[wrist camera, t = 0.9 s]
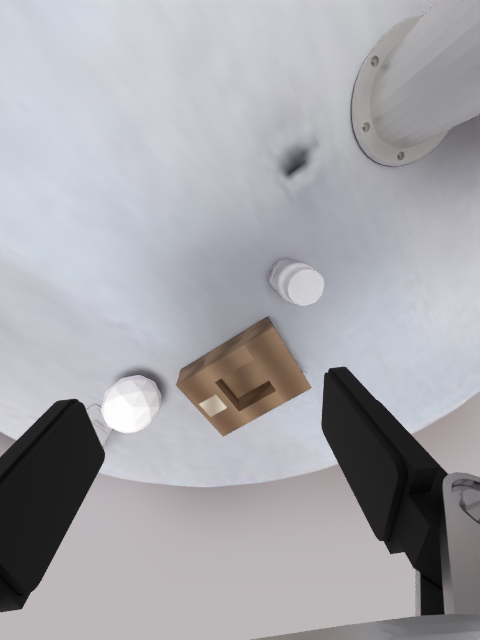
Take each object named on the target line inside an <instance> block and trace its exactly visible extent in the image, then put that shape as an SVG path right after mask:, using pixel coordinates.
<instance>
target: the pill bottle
mask: <svg viewBox="0 0 480 640" xmlns="http://www.w3.org/2000/svg"><path fill="white" fill-rule="evenodd" d="M268 279H269V283H270V285H271V287H272V288H273V289H274V290H275V291H276V292H277V293H278V294H280V295H281V296H282V297H283V298H284V299H285V300H286V301H288V302H290V303H295V304H297V305H300V306H308V305H311V304H313V303H315V302H316V301H317V300H318V299H319V298H320V297H321V295H322V293H323V291H324V280H323V277H322V276H321V275H320V273H318V272H317V271H315V270H314V269H313V268H312V267H311V266H310V265H308V264H305V263H301V262H298V261H294V260H290V259H283V260H280V261H277V262H276V263H275V264H274V265H273V266H272V267H271V269H270V271H269V275H268Z"/></svg>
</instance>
